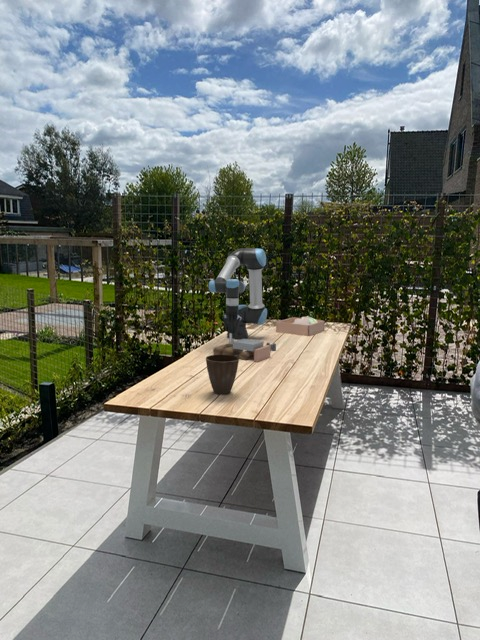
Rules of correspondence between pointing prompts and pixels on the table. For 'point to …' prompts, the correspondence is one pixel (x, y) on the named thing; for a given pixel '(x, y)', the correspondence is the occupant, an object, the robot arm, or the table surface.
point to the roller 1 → (221, 349)
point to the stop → (262, 353)
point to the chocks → (239, 358)
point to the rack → (272, 346)
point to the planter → (299, 327)
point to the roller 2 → (231, 351)
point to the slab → (247, 344)
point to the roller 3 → (246, 354)
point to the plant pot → (222, 372)
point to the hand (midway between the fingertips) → (231, 343)
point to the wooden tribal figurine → (305, 321)
